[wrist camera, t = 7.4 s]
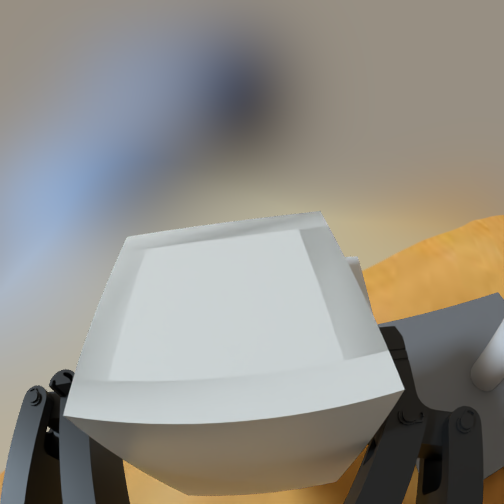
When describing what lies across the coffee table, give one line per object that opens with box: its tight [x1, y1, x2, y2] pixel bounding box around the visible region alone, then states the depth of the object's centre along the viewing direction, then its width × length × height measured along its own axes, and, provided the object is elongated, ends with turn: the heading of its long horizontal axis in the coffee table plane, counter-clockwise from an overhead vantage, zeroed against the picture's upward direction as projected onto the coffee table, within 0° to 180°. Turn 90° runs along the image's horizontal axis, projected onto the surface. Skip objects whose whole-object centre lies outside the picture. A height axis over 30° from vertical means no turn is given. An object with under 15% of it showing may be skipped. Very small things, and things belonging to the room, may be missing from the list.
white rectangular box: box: [63, 211, 405, 496], centre depth 11 cm, size 7×7×10 cm
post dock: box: [378, 292, 504, 480], centre depth 15 cm, size 16×16×8 cm
